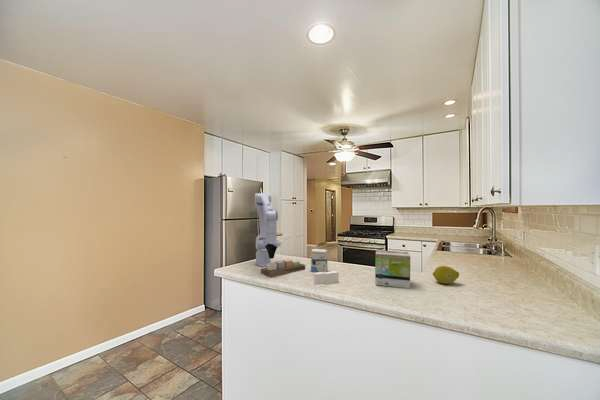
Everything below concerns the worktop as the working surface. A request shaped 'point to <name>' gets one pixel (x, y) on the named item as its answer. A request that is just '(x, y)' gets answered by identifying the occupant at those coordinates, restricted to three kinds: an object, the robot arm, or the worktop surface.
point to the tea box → (392, 268)
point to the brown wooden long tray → (282, 270)
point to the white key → (271, 266)
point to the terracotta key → (287, 262)
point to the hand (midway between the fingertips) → (271, 258)
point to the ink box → (318, 260)
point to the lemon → (445, 274)
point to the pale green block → (295, 262)
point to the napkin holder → (326, 277)
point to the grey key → (280, 264)
